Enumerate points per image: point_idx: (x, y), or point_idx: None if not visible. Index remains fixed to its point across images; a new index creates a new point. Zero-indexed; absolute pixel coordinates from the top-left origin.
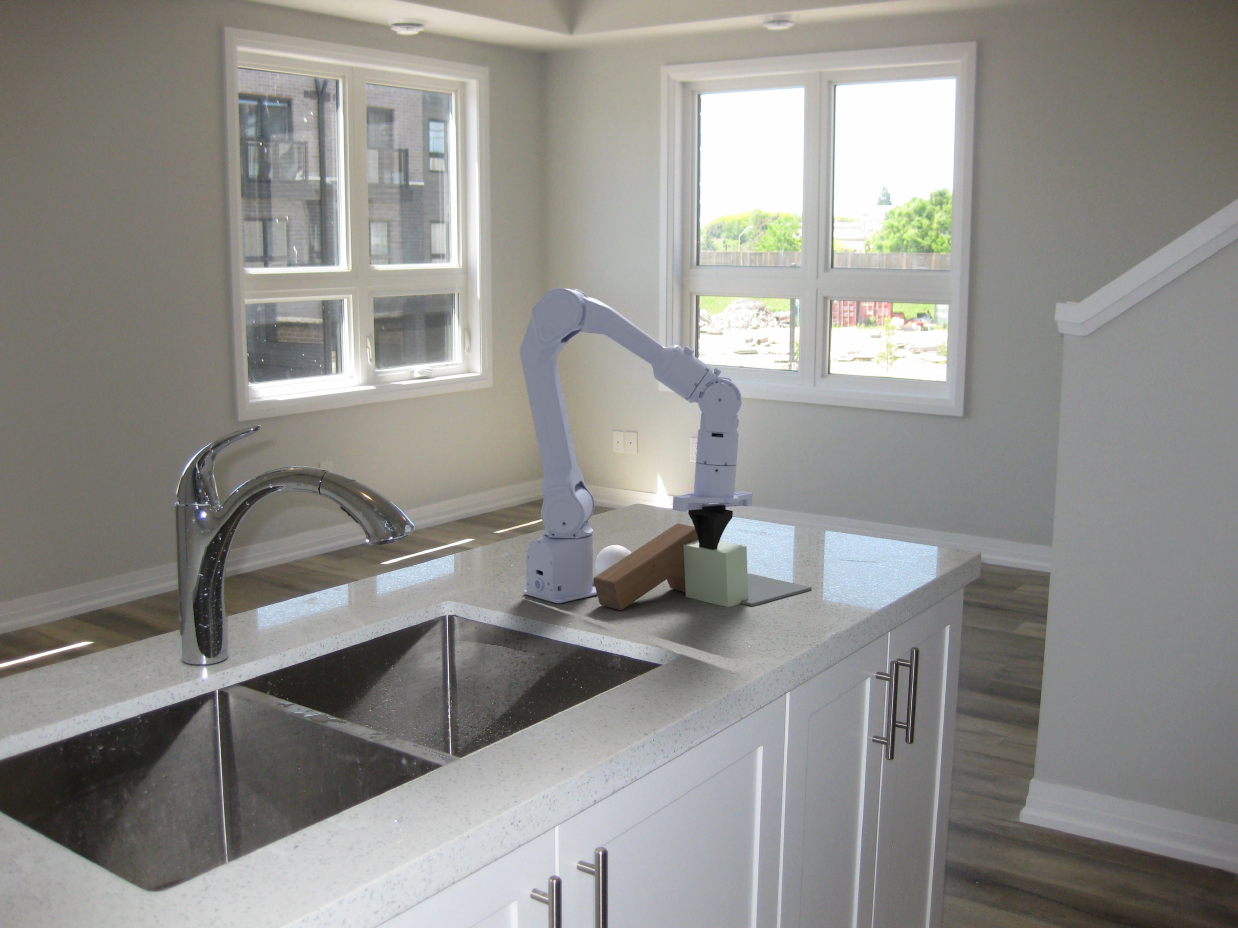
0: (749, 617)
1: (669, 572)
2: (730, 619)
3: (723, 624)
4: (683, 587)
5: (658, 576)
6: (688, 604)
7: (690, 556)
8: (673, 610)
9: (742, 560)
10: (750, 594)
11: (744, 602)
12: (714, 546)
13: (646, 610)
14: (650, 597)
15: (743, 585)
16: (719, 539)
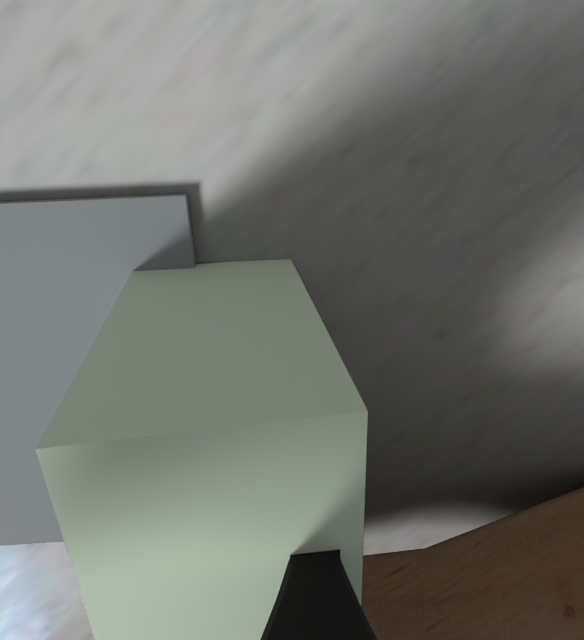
0: (360, 40)
1: (429, 569)
2: (462, 85)
3: (566, 39)
4: None
5: (503, 557)
6: (385, 391)
7: None
8: (504, 364)
9: (134, 372)
10: (67, 318)
11: (192, 241)
12: (332, 572)
13: (570, 422)
14: (408, 529)
15: (159, 295)
16: (280, 627)
